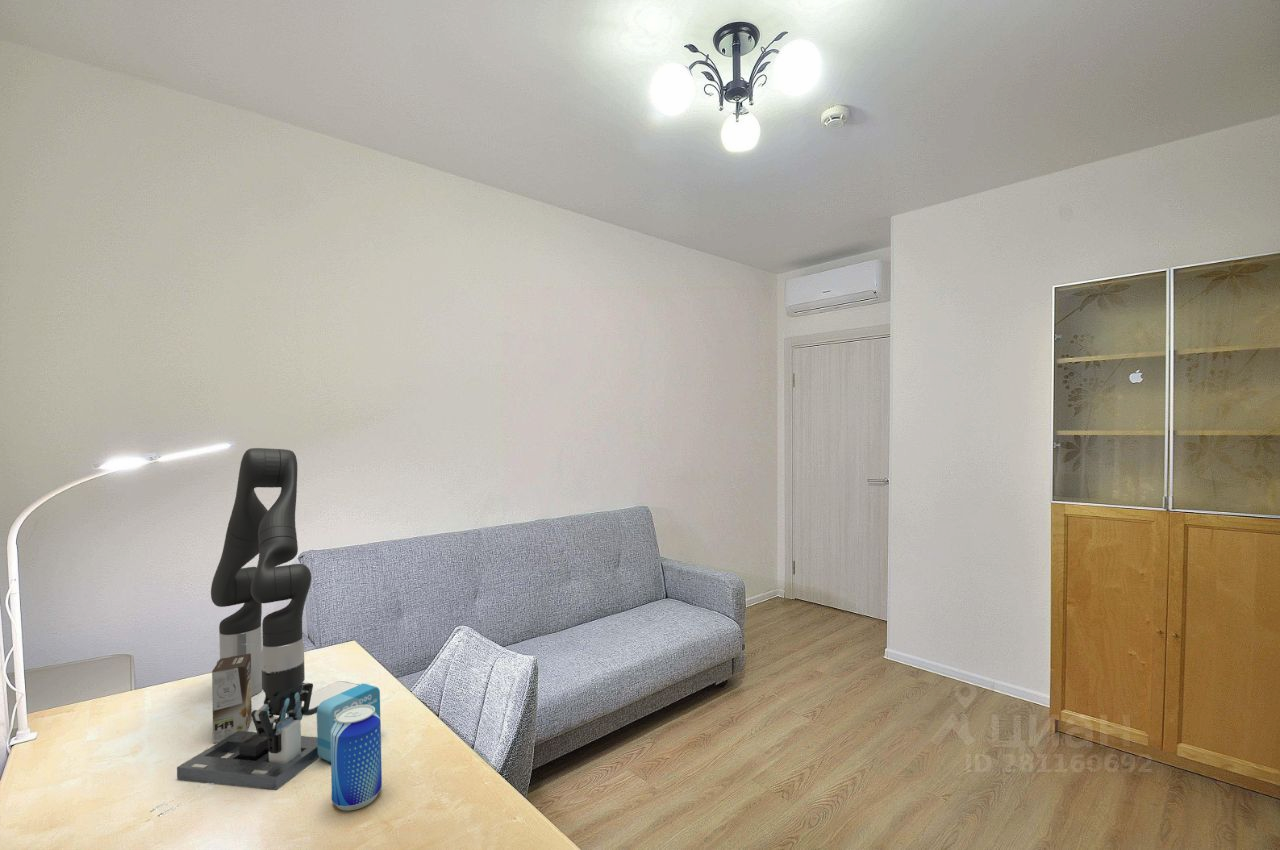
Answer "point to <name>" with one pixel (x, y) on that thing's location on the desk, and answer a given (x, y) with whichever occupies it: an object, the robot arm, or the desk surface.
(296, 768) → the panel
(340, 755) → the beer can
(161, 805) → the electronic cable
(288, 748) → the plug
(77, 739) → the desk surface
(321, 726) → the teal rounded box
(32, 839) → the desk surface
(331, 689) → the phone case
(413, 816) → the desk surface
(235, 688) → the coffee box
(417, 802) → the desk surface
